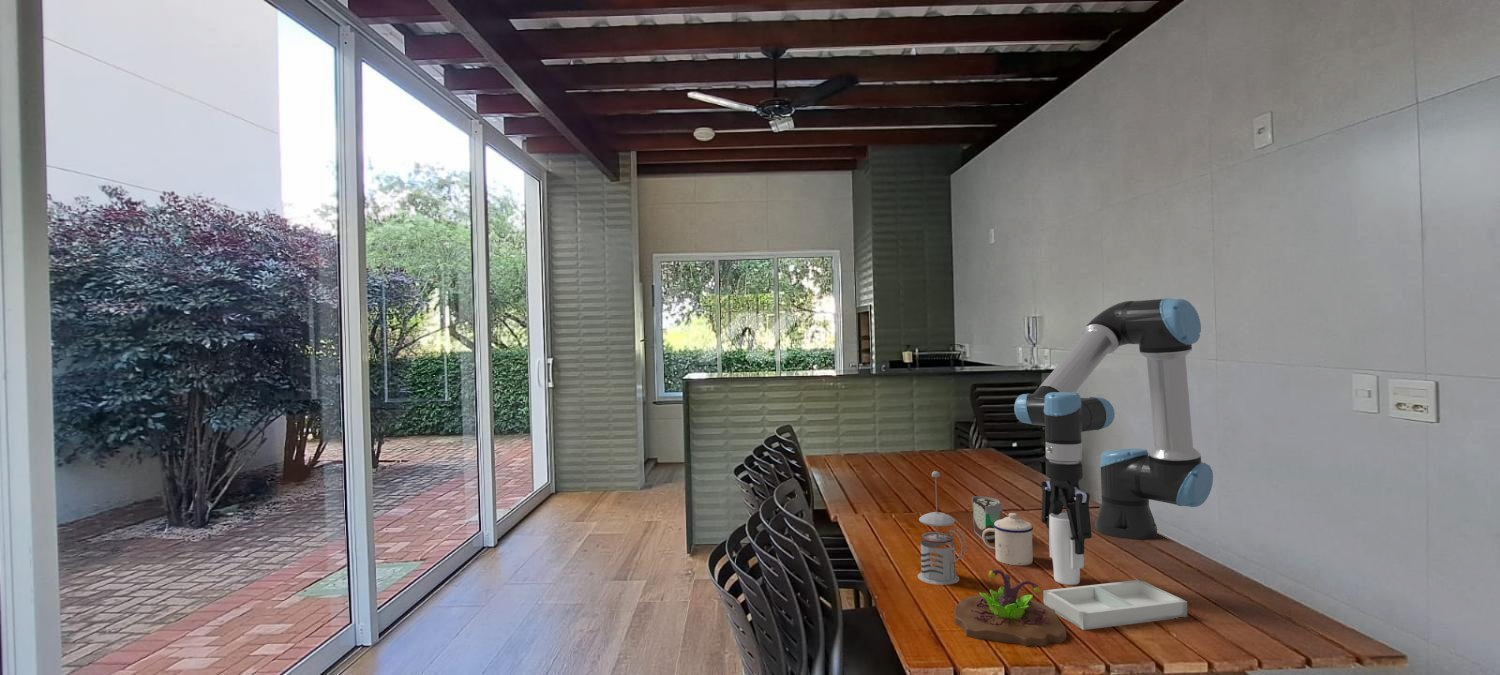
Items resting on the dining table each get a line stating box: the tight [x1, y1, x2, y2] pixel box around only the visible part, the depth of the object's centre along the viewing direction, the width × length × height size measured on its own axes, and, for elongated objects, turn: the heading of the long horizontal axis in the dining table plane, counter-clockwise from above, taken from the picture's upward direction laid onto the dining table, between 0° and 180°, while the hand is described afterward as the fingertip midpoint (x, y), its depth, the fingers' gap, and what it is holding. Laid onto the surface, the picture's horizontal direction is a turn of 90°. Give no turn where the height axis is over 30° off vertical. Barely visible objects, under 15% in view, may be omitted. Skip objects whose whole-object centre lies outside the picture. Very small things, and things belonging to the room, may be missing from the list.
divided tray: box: [1042, 579, 1188, 631], centre depth 134 cm, size 23×12×4 cm, turn 101°
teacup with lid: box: [982, 512, 1034, 567], centre depth 167 cm, size 12×9×12 cm
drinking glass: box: [1048, 511, 1081, 586], centre depth 151 cm, size 7×7×15 cm
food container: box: [971, 495, 1003, 543], centre depth 186 cm, size 12×6×10 cm, turn 179°
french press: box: [917, 470, 967, 586], centre depth 155 cm, size 10×12×25 cm
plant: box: [954, 569, 1067, 647], centre depth 130 cm, size 20×20×11 cm
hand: (1066, 562), depth 151 cm, fingers closed on drinking glass, 7 cm apart
